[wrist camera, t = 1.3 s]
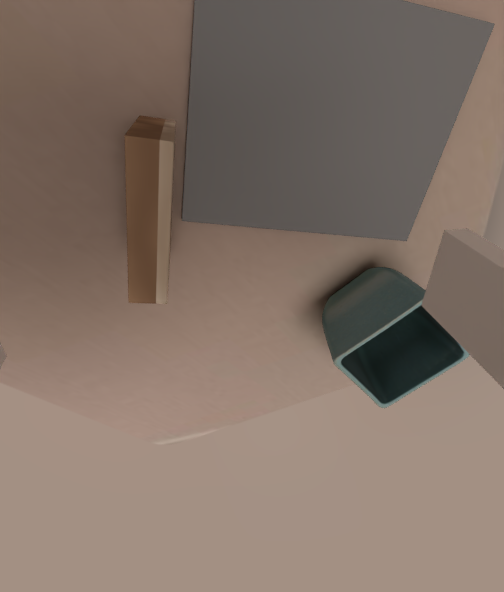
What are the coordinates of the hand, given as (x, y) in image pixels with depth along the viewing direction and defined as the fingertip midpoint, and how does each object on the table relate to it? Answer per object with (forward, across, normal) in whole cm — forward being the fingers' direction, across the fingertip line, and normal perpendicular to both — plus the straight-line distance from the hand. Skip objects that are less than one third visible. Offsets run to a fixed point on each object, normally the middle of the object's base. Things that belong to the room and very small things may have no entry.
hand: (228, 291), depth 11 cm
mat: (+19, +10, +1) cm, 22 cm away
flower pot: (+19, +15, -15) cm, 28 cm away
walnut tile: (+19, -3, -3) cm, 20 cm away
